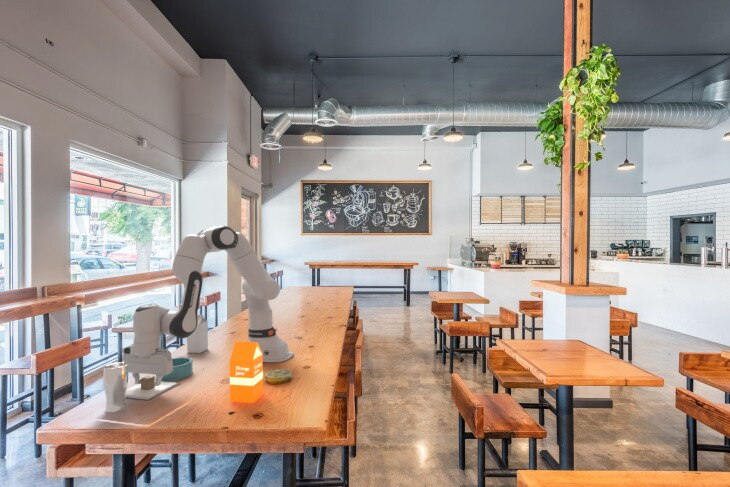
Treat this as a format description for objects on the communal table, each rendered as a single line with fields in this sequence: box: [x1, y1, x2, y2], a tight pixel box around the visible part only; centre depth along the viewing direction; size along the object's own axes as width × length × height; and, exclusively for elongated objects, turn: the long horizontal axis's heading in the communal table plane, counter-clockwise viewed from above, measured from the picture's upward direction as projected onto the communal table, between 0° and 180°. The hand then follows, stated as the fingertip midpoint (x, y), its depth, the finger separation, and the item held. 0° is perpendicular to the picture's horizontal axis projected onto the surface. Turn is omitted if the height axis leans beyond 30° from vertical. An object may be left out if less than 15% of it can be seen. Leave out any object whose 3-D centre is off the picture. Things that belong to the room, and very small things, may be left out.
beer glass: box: [102, 361, 129, 413], centre depth 123 cm, size 7×7×15 cm
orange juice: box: [229, 341, 264, 404], centre depth 131 cm, size 8×9×20 cm
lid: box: [126, 375, 178, 400], centre depth 138 cm, size 14×14×5 cm
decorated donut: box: [263, 368, 293, 385], centre depth 148 cm, size 10×11×4 cm
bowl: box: [161, 357, 194, 382], centre depth 154 cm, size 13×13×6 cm
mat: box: [126, 383, 182, 402], centre depth 138 cm, size 16×16×1 cm
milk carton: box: [186, 314, 209, 354], centre depth 190 cm, size 7×7×19 cm
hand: (147, 384), depth 138 cm, fingers open, 7 cm apart
